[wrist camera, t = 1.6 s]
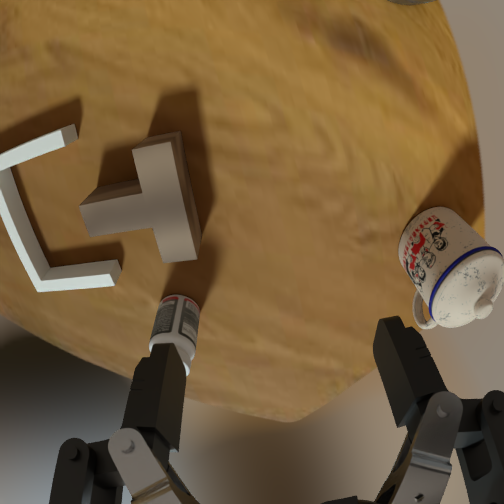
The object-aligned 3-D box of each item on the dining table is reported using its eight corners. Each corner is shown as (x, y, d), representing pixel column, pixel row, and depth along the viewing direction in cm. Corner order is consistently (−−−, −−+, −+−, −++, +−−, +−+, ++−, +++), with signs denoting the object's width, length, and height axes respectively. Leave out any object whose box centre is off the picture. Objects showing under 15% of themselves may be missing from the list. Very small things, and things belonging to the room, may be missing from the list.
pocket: (-4, 155, 23) (-18, 163, 21) (74, 123, 23) (60, 129, 20) (46, 278, 32) (37, 292, 30) (121, 271, 31) (114, 285, 29)
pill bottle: (158, 319, 35) (144, 377, 28) (160, 289, 33) (143, 349, 26) (197, 326, 36) (190, 385, 29) (203, 297, 34) (195, 359, 27)
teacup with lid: (416, 193, 27) (484, 260, 18) (473, 214, 29) (535, 275, 19) (371, 288, 34) (407, 369, 24) (428, 296, 35) (468, 366, 25)
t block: (86, 152, 24) (66, 167, 21) (180, 130, 24) (170, 141, 20) (116, 246, 30) (103, 269, 26) (202, 235, 29) (197, 259, 26)
